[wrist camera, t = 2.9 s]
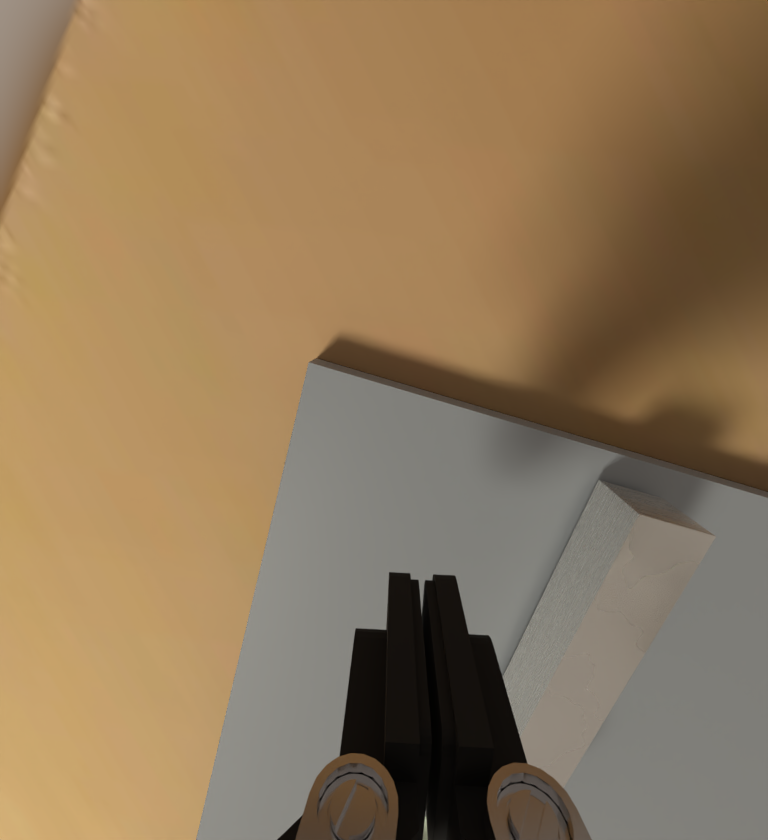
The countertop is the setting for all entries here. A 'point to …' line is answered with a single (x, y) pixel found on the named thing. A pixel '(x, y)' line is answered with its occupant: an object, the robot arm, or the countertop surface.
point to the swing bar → (598, 620)
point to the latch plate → (490, 606)
